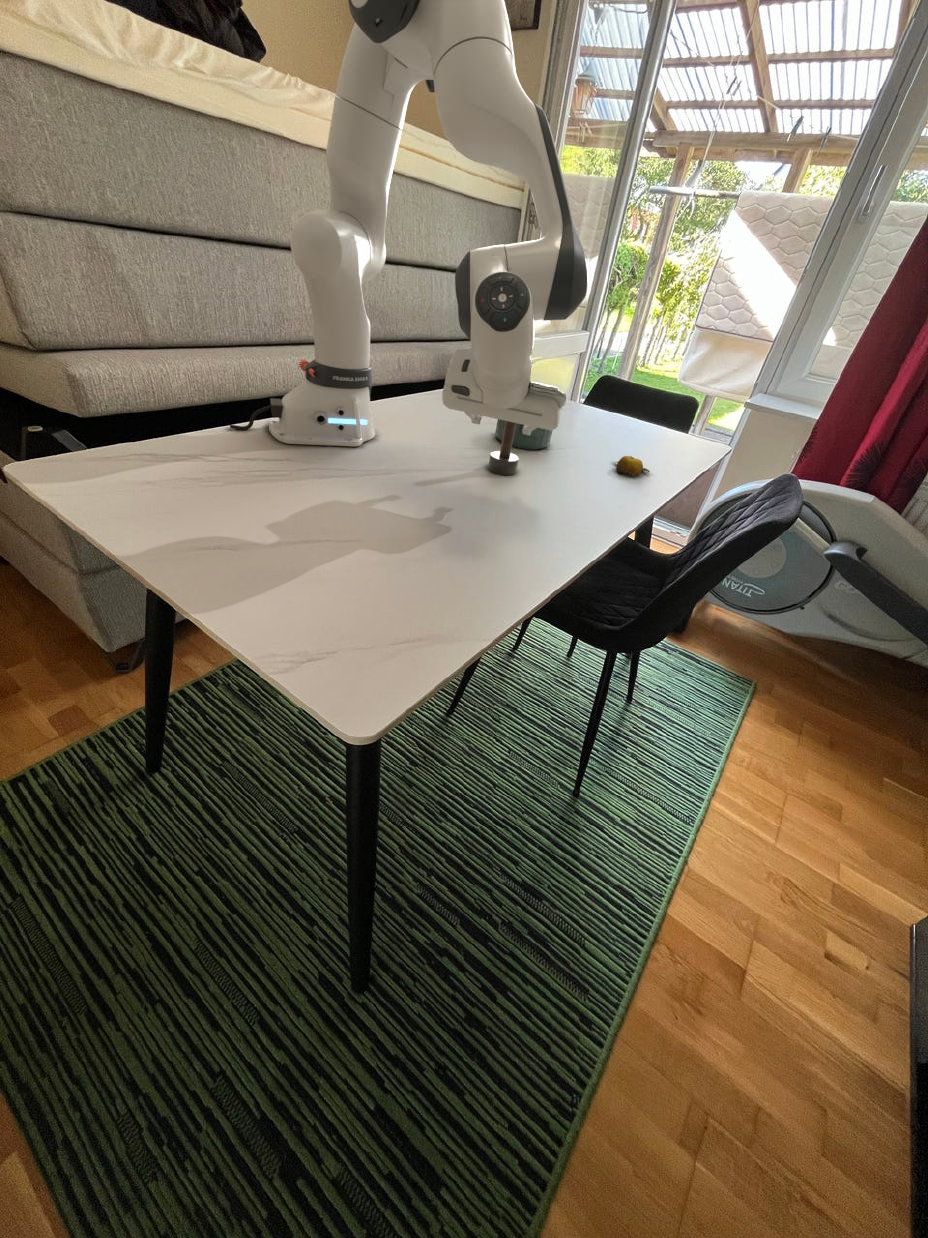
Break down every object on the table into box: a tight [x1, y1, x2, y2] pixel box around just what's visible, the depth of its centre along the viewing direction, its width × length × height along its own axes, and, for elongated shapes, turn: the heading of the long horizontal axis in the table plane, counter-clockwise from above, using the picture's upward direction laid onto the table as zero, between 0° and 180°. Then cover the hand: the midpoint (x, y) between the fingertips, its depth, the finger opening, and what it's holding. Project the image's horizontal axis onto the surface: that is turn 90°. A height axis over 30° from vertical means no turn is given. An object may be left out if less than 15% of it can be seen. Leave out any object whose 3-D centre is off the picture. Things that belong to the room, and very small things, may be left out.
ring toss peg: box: [487, 421, 520, 476], centre depth 105 cm, size 6×6×16 cm
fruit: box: [614, 455, 651, 477], centre depth 119 cm, size 8×8×4 cm
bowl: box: [494, 419, 553, 451], centre depth 127 cm, size 14×14×6 cm
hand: (501, 425), depth 94 cm, fingers open, 8 cm apart
